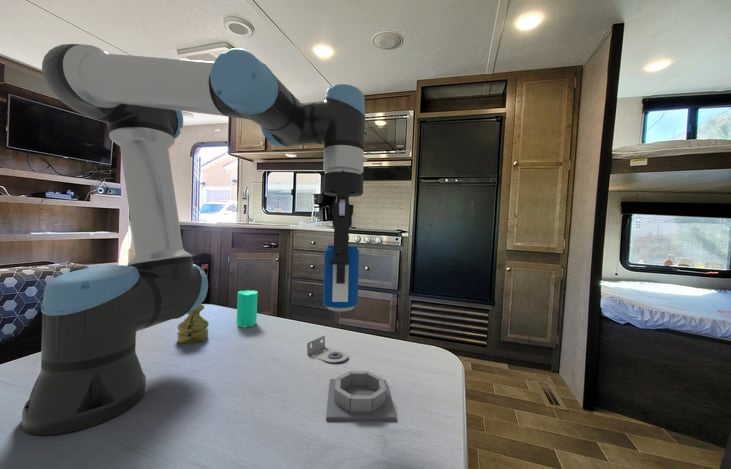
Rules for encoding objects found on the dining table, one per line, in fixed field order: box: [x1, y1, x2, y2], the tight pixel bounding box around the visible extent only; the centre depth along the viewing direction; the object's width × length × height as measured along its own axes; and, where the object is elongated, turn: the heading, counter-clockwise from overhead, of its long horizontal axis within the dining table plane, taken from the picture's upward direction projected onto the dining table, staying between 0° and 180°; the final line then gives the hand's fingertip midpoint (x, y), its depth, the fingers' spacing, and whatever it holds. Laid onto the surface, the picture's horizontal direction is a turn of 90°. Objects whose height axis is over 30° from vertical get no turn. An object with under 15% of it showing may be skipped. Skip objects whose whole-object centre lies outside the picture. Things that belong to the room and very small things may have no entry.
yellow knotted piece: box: [177, 303, 210, 345], centre depth 78 cm, size 7×7×10 cm
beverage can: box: [322, 242, 360, 312], centre depth 53 cm, size 6×6×12 cm
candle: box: [235, 290, 259, 327], centre depth 91 cm, size 6×6×12 cm
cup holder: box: [325, 370, 397, 421], centre depth 54 cm, size 12×12×3 cm
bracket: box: [306, 335, 349, 364], centre depth 72 cm, size 7×10×4 cm, turn 57°
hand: (340, 296), depth 53 cm, fingers closed on beverage can, 6 cm apart
